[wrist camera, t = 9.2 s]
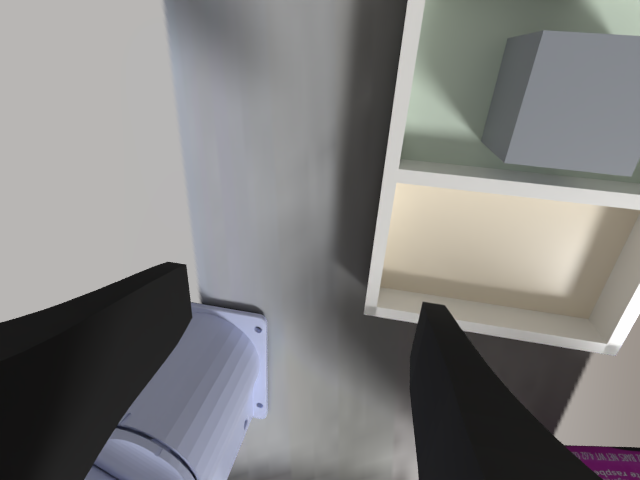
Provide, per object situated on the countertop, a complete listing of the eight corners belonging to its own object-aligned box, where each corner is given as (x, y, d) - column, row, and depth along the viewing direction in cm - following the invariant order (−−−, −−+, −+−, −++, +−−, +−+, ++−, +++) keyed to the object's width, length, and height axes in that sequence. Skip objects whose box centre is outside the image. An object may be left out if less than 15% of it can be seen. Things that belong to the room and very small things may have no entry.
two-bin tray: (591, 322, 20) (615, 356, 17) (367, 288, 21) (363, 314, 19) (757, -15, 13) (831, -30, 11) (411, -26, 15) (413, -42, 12)
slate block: (578, 151, 16) (631, 176, 12) (480, 141, 16) (504, 163, 13) (618, 45, 14) (694, 38, 10) (507, 38, 14) (543, 29, 11)
